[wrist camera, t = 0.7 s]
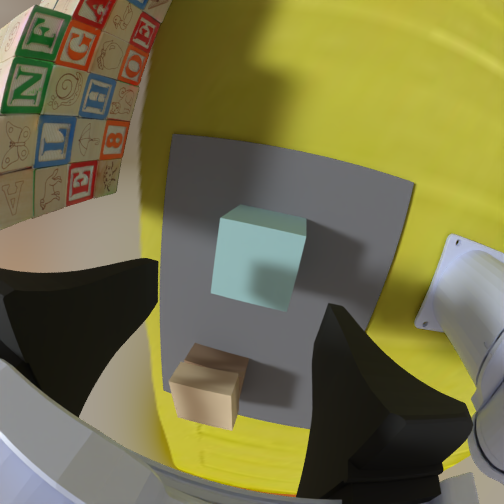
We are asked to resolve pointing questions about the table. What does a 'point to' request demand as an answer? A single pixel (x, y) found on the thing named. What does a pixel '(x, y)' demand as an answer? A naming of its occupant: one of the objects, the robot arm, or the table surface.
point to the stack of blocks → (69, 100)
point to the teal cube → (258, 256)
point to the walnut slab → (218, 361)
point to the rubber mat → (309, 272)
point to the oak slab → (205, 395)
